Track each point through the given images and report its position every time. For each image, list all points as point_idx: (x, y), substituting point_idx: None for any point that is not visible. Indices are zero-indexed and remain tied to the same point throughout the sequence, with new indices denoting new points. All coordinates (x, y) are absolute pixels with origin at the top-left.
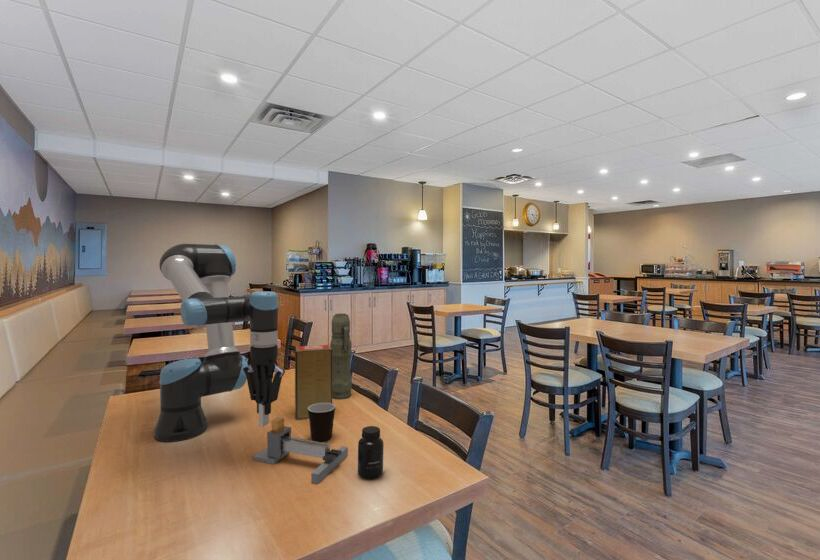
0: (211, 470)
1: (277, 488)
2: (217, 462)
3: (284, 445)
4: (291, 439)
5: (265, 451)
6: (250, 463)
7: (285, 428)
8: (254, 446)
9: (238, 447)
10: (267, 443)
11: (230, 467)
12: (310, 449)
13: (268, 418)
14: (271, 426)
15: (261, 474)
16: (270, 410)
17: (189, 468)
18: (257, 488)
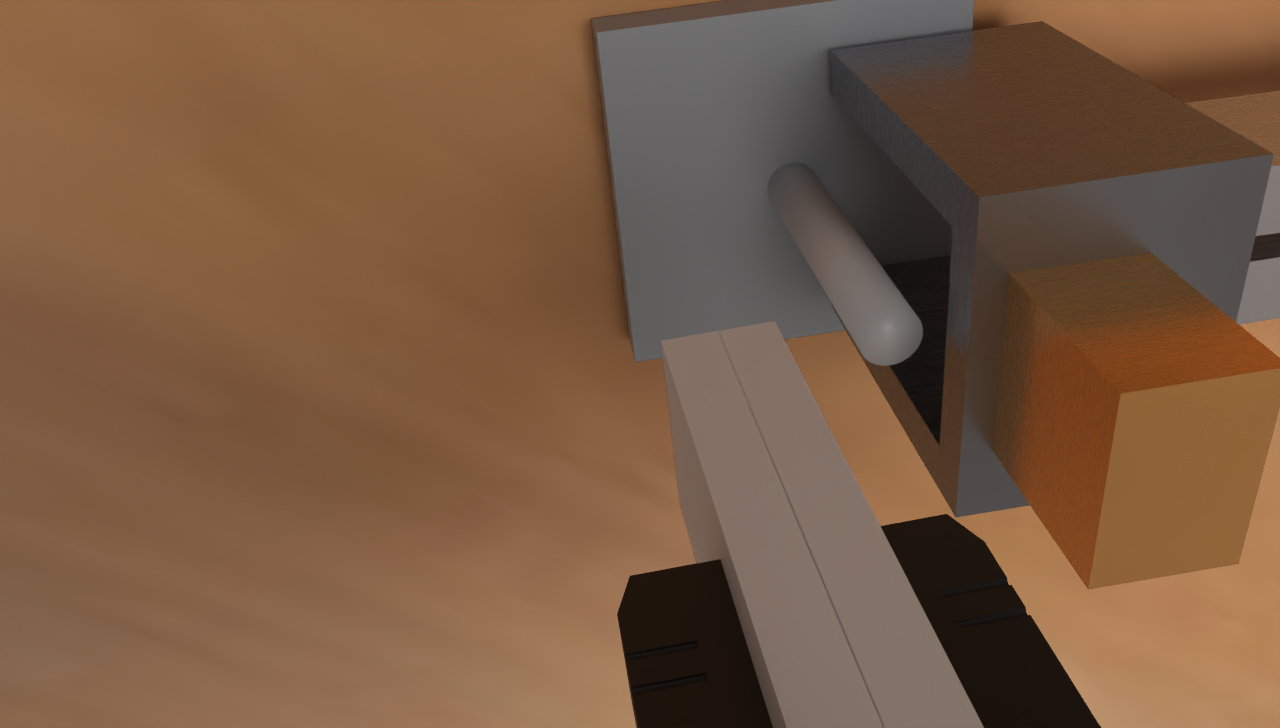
0: (405, 652)
1: None
2: (293, 549)
3: None
4: (1267, 228)
5: (676, 193)
6: (660, 400)
7: (1192, 254)
8: (290, 55)
9: (105, 196)
10: (894, 407)
11: (528, 543)
12: None
13: (807, 401)
14: (1030, 505)
15: None
16: (1001, 588)
17: (167, 725)
18: (1050, 621)
